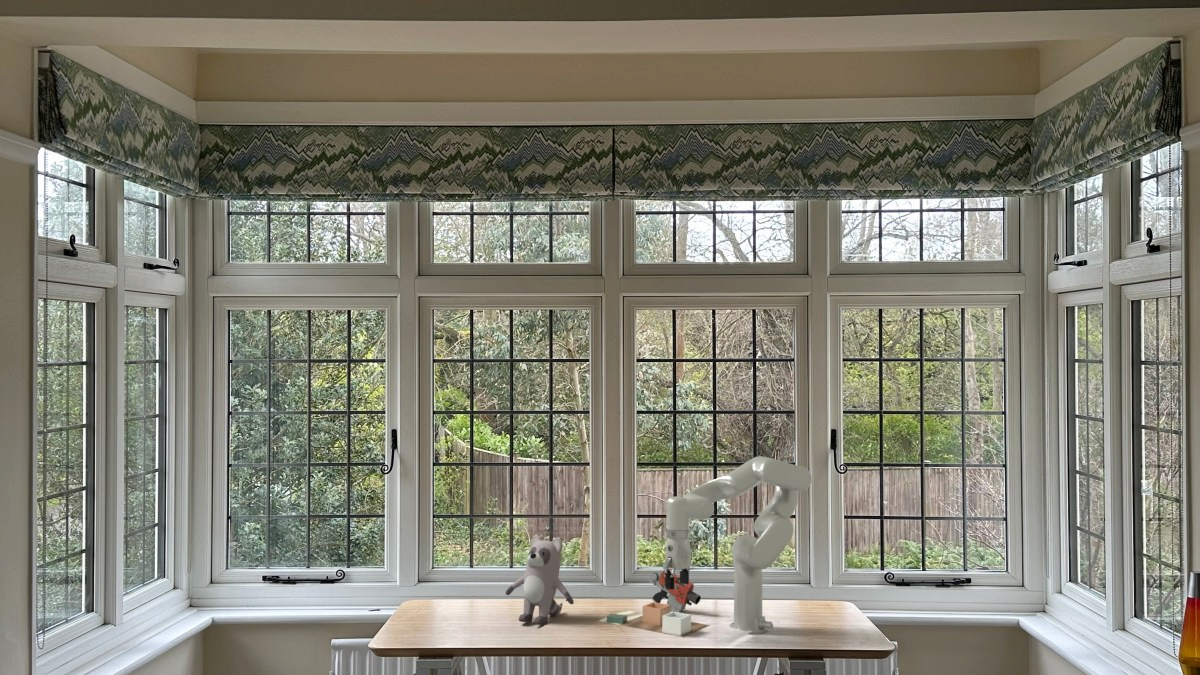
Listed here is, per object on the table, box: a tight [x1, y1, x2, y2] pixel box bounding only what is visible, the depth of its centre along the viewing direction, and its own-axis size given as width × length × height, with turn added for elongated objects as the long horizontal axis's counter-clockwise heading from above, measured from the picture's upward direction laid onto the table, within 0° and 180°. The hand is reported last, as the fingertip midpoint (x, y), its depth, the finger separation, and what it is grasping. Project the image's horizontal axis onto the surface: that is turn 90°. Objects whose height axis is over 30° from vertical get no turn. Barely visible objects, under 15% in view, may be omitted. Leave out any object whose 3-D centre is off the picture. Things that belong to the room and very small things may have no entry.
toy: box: [505, 534, 575, 626], centre depth 330 cm, size 21×21×29 cm
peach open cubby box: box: [641, 601, 670, 625], centre depth 328 cm, size 7×7×6 cm
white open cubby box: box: [661, 612, 692, 637], centre depth 315 cm, size 7×7×6 cm
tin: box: [606, 613, 627, 624], centre depth 327 cm, size 6×4×2 cm, turn 66°
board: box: [597, 609, 710, 638], centre depth 326 cm, size 34×18×1 cm, turn 56°
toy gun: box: [648, 570, 702, 613], centre depth 343 cm, size 4×20×15 cm, turn 53°
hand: (677, 586), depth 315 cm, fingers open, 9 cm apart
